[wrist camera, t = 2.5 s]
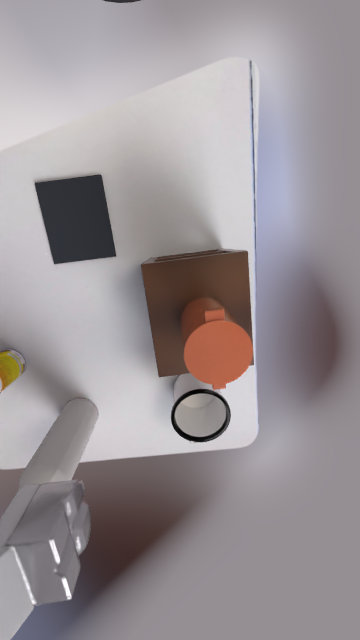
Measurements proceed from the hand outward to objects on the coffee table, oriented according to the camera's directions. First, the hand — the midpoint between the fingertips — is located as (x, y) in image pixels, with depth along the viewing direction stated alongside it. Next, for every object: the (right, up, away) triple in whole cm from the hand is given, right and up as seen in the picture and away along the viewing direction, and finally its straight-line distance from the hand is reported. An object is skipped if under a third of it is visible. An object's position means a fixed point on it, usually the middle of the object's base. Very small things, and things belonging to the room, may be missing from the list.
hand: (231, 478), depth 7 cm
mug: (+1, -10, +44) cm, 45 cm away
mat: (-18, +20, +35) cm, 44 cm away
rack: (+1, +9, +39) cm, 40 cm away
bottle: (-20, -13, +45) cm, 51 cm away
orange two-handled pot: (+1, +4, +25) cm, 25 cm away
